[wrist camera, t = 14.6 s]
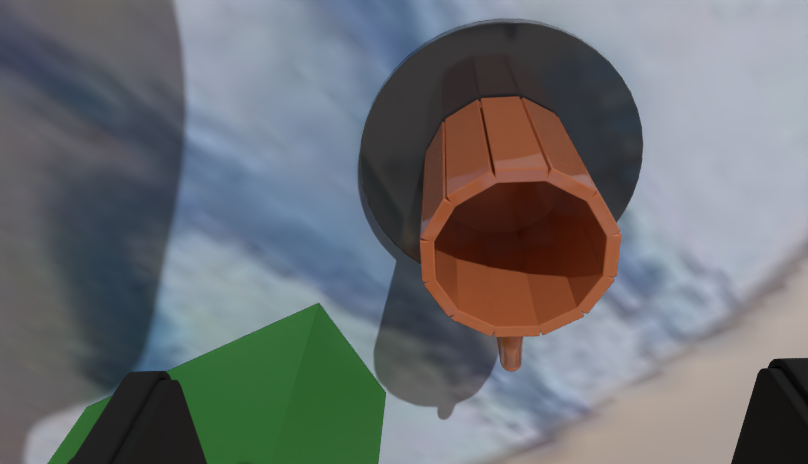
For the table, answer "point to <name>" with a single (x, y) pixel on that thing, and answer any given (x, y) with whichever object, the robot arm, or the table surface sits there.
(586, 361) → the table surface
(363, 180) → the saucer
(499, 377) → the table surface
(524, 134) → the wooden mug
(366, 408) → the hardback book
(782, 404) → the robot arm
